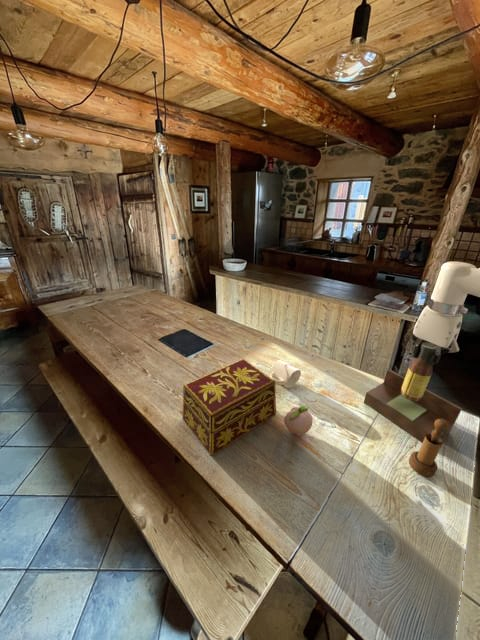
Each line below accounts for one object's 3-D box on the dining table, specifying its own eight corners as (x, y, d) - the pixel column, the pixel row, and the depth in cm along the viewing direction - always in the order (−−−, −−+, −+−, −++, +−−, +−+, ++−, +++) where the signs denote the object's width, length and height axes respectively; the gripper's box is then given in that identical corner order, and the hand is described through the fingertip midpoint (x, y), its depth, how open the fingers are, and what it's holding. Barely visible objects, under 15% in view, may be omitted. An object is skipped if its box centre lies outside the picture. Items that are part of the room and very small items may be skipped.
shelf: (449, 433, 88) (462, 408, 83) (431, 449, 82) (444, 423, 78) (382, 391, 106) (389, 368, 102) (363, 402, 101) (370, 379, 96)
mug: (282, 371, 117) (283, 356, 114) (299, 381, 111) (302, 366, 108) (264, 383, 110) (265, 367, 106) (281, 394, 104) (283, 378, 100)
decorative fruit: (301, 447, 82) (305, 424, 78) (279, 433, 87) (281, 410, 83) (315, 429, 89) (319, 406, 84) (293, 417, 94) (297, 395, 89)
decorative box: (211, 457, 79) (209, 419, 72) (181, 418, 92) (178, 384, 85) (276, 414, 94) (279, 380, 88) (243, 387, 108) (244, 355, 101)
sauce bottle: (425, 399, 88) (449, 350, 79) (411, 404, 86) (435, 354, 77) (407, 386, 94) (428, 338, 84) (394, 391, 91) (414, 342, 82)
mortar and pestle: (403, 460, 79) (422, 415, 71) (419, 453, 81) (439, 409, 73) (424, 480, 73) (447, 434, 66) (440, 472, 76) (464, 427, 68)
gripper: (486, 314, 71) (460, 370, 79) (420, 295, 84) (404, 345, 92) (474, 320, 67) (448, 378, 75) (407, 299, 80) (391, 351, 88)
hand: (424, 359), depth 83 cm, fingers closed on sauce bottle, 4 cm apart
